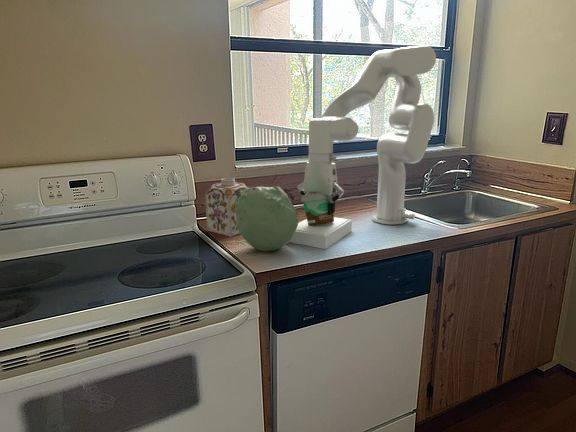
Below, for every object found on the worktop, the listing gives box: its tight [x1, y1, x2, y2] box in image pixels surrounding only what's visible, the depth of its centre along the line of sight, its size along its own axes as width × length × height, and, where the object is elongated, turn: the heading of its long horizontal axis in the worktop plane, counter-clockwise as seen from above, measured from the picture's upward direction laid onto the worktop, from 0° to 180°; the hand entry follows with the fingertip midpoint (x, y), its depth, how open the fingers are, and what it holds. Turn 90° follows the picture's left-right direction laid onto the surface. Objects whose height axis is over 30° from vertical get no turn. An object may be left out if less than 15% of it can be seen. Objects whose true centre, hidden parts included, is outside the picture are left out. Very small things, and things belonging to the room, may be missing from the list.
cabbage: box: [234, 185, 299, 252], centre depth 135 cm, size 16×19×20 cm
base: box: [287, 216, 353, 250], centre depth 149 cm, size 14×20×4 cm
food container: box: [300, 193, 335, 226], centre depth 146 cm, size 12×6×10 cm, turn 126°
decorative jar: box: [204, 177, 249, 238], centre depth 154 cm, size 12×12×18 cm
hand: (319, 212), depth 147 cm, fingers open, 7 cm apart
